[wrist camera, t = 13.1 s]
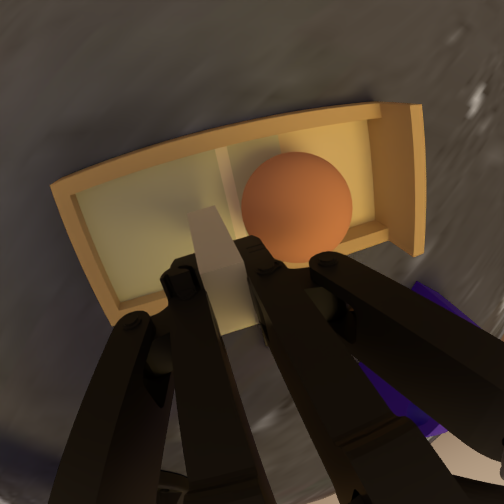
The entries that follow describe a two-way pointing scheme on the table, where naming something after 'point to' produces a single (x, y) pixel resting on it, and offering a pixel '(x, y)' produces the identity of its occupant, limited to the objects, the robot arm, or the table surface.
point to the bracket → (396, 399)
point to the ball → (297, 206)
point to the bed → (238, 192)
